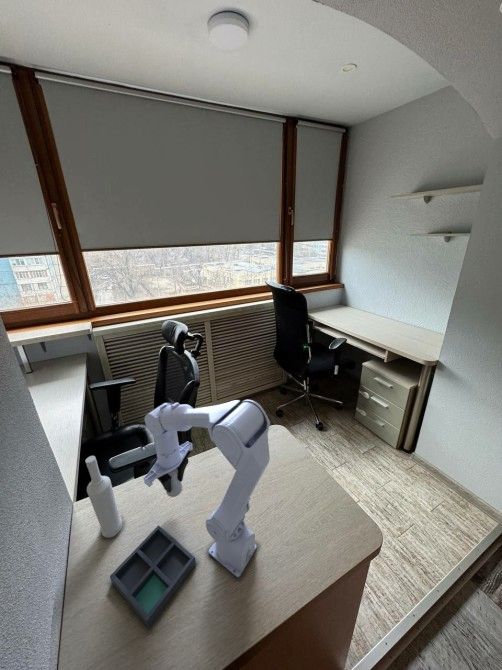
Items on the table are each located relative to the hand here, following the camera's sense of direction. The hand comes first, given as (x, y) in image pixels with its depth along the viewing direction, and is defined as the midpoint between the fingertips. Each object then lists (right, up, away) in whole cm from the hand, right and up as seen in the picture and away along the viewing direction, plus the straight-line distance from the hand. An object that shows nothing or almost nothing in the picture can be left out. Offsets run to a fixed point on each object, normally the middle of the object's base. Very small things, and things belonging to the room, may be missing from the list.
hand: (173, 484), depth 74 cm
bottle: (-16, -11, -2) cm, 20 cm away
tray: (-1, -15, -11) cm, 18 cm away
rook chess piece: (0, -2, +1) cm, 3 cm away
